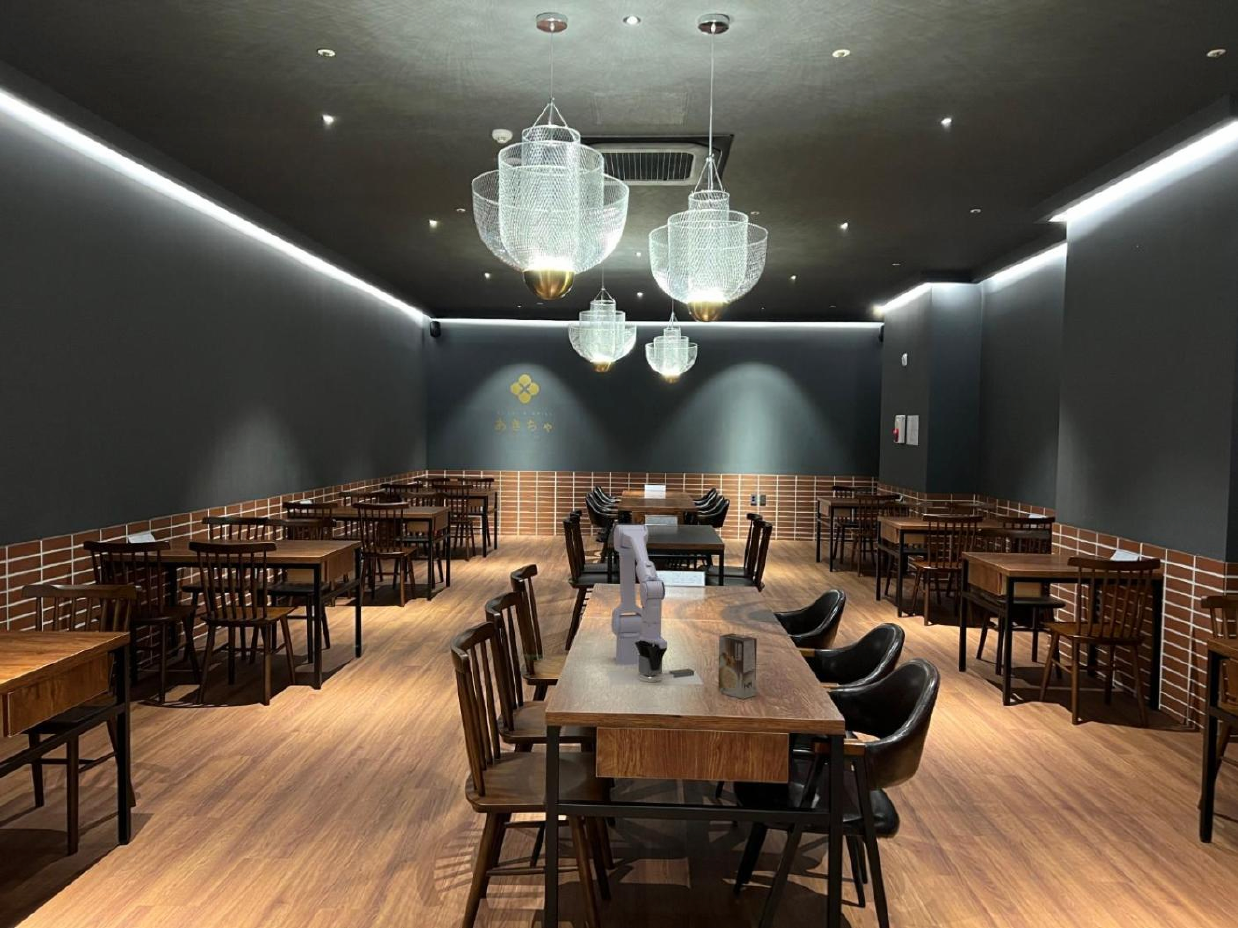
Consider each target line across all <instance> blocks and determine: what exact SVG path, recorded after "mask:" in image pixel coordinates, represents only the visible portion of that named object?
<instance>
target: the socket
mask: <svg viewBox="0 0 1238 928" xmlns="http://www.w3.org/2000/svg"><path fill="white" fill-rule="evenodd" d="M638 670H639V672H640V673H642V674H645V675H647V676H649V675H657V674H662V670H663V660H662V661H661V664H660V668H659V670H656V671H652V668H651V658H650V654H641V655H640V654H639V665H638Z"/></svg>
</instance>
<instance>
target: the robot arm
mask: <svg viewBox="0 0 1238 928" xmlns="http://www.w3.org/2000/svg"><path fill="white" fill-rule="evenodd" d="M648 541H649V529H648V527H647V525H646V524H617V525H616V526H615V528H614V531H613V547H614V551H616V552H618V556H619V583H620V584H619V587H620V604H618V606H617V607H614V609H613V610H612V614H611V621H610V623H611V624H610V627H611V632H612V633H613V634H614V635H615V636H616V642H615V643H616V646H615V647H616V648H615V649H616V650H615V657H613V661H614V664H615V666H639V655H641V654H650V658H651V668H652V671H656V670H659V668H660V664H661V661H662V662H663V657H664V655H665V654H666V652H667V650H668V641H667V640H665V638H663V637H662V607H663V605H662V604H663V602H662V601H663V600H664V599H665V598H666V597H665V596H666V585H665V581H664V580H663V579H661V578H660V577H659V576H658V574H657V573H658V572H657V570H656V566H655V563H654V562H653V561H651V560H650V558H649V555H648V551H647V544H648ZM635 562H636V563H637V564H636V563H635ZM636 576H637V579H638V582H639V584H640V585H639V596H640V606H641V607H640V606H639V605H637V600H636V599H637V597H636V593H637V592H636Z"/></svg>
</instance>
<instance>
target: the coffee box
mask: <svg viewBox="0 0 1238 928" xmlns="http://www.w3.org/2000/svg"><path fill="white" fill-rule="evenodd" d="M757 640H758V639H757V637H751V636H747V635H744V634H743V635H742V634H737V633H726V634H723V635H719V637H718V684H717V685H718V688H717V689H718V692H720V693H721V694H722V695H727V696H731V697H734V698H737V699H738V698H739V699H741V700H745V699H748V698H751V697H755V696H756V695H757V650H758V649H757V646H758V645H757V644H758V642H757Z"/></svg>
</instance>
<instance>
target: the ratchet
mask: <svg viewBox="0 0 1238 928" xmlns="http://www.w3.org/2000/svg"><path fill="white" fill-rule="evenodd" d="M673 670H674V669H673ZM693 670H694V669H692V668H684V669H675V670H674V671H669V673H662V674H657V675H649V676H647V675H645V674H642V673H639V674H638V680H639V681H642V682H647V683H656V682H661V681H662V679H669V678H678V677H686V676H694V671H693Z"/></svg>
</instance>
